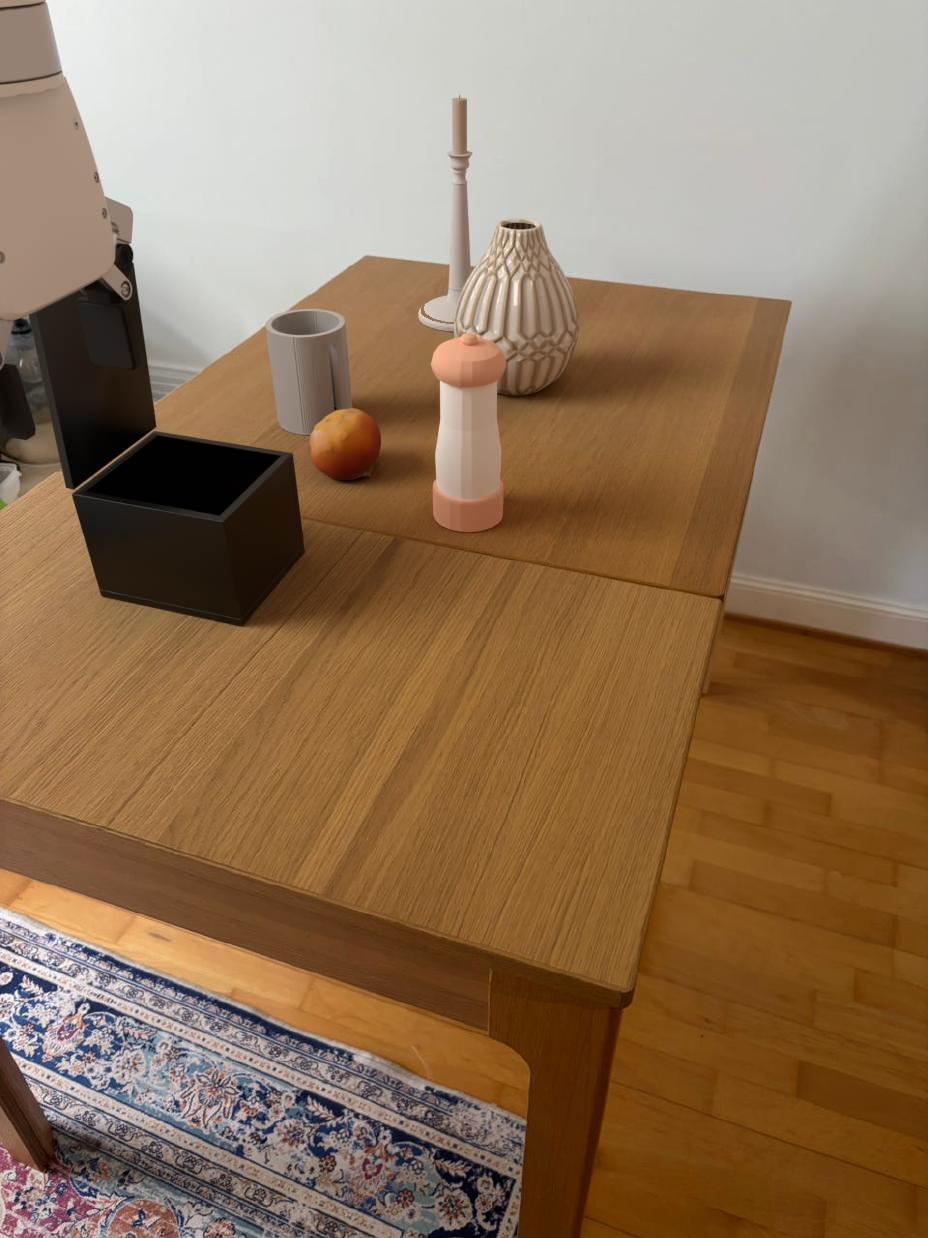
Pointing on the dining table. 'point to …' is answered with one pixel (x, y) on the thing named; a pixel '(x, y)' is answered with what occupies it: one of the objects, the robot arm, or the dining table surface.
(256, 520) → the trash bin
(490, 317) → the vase
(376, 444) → the fruit
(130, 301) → the black lid
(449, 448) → the salt shaker
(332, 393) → the cup
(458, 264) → the candlestick
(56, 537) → the dining table surface
